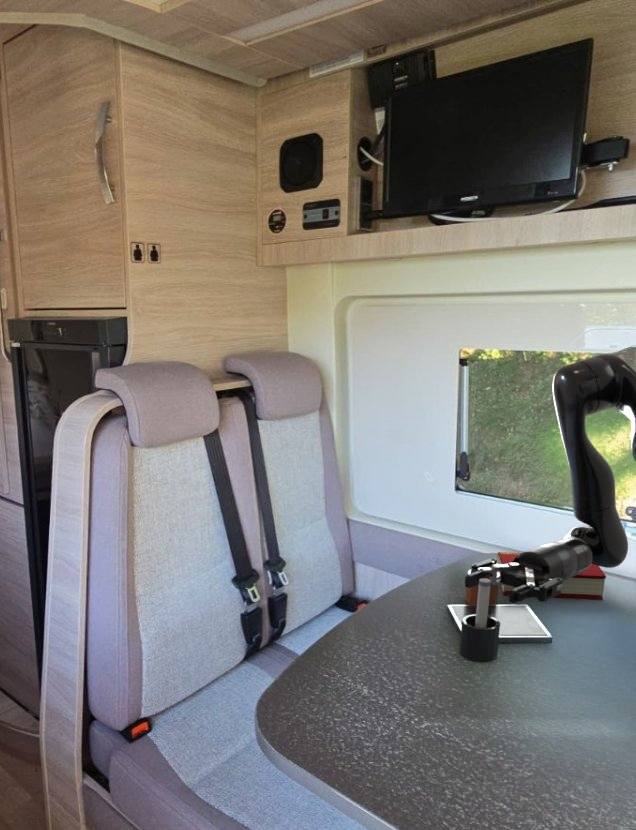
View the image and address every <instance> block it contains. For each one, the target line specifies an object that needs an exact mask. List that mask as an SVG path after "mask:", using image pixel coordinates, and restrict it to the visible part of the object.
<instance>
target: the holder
mask: <svg viewBox="0 0 636 830" xmlns="http://www.w3.org/2000/svg"><path fill="white" fill-rule="evenodd" d="M475 621H476V614H473V615H467V616H465V617H463V619H462V626H461V636H460V638H459V654H460V655H461V656H462V657H463V658H465V659H467V660H469V661H473V662H479V663H487V662H491V661H494V660H496V659H497V657H498V652H499V644H500V643H499V633H500V622H499V620H497V619H496V618H494V617H491V616H487V626H486V628H478V627H475Z"/></svg>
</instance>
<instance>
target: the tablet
mask: <svg viewBox="0 0 636 830" xmlns="http://www.w3.org/2000/svg"><path fill="white" fill-rule="evenodd" d="M476 610H477V605H470V604H447V605H446V611H447V613H448V615H449V617H450V619H451V621H452V623H453V625H454V627H455V629H456V631H457V632H458V635H459V637H461V626H462V619H463V617H465V616H467V615H473V614H476ZM488 616H491V617H494V618H496V619H497V620H499V622H500V633H499V643H498V644H500V643H501V644H507V643H508V644H546V643H547V644H552V643H553V640H554V637H553V636H552V634H551V633H550V631H549V630H548V629H547V628H546V627H545V625H544V624H543V622H542V621H541V620H540V619H539V618H538V616H537V615H536V614H535V612H534V611H533V609H532V608H531V607H530V606H529V605H528V604H497V605H488Z"/></svg>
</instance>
